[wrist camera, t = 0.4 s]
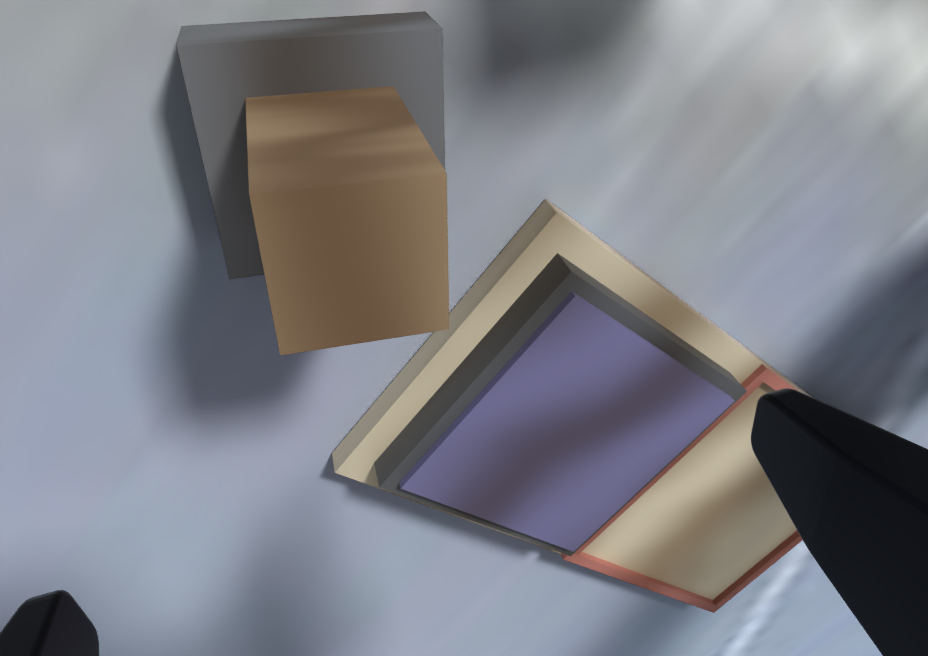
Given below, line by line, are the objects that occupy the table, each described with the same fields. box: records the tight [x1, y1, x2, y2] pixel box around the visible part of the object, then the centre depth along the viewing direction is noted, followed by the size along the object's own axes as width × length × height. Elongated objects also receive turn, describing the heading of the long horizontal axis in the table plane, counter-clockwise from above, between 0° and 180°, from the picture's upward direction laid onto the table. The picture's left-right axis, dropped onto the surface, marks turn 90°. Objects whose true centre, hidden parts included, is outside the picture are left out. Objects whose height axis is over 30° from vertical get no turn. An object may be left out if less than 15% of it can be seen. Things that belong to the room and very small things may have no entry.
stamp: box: [177, 12, 449, 355], centre depth 17 cm, size 6×6×8 cm
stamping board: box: [332, 199, 813, 613], centre depth 30 cm, size 24×12×2 cm, turn 51°
